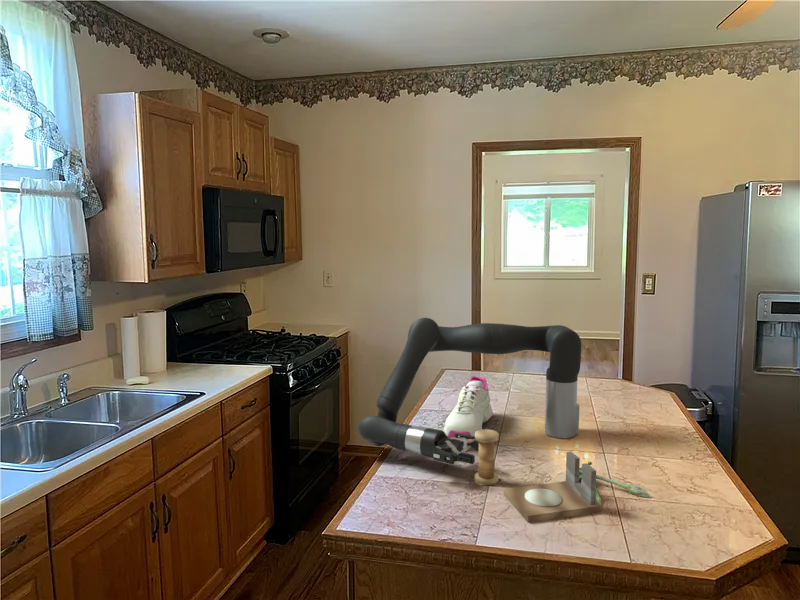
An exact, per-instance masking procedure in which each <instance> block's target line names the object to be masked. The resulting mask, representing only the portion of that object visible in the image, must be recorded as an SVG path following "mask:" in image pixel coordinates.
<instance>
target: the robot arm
mask: <svg viewBox="0 0 800 600" xmlns="http://www.w3.org/2000/svg"><path fill="white" fill-rule="evenodd" d="M409 327H410V328H409V329H408V333H407V340H406V343H405V346H404V348H403V351H402V352H401V354H400V357H399V359H398V361H397V363H396V365H395V367H394V368H393V370H392V372H391V373H390V375H389V376H388V379H387V380H386V382H385V384H384V386H383V388H382V390H381V392H380V394H379V396H378V398H377V400H376V402H375V405H376V408H377V410H378V413H377V416H376V415H368V416H365V417H363V418H362V419H361V421H360V422H359V423H358V427H357V428H358V429H357V431H358V434H359V435H360V437H361V438H362V439H364V440H365V441H366V442H368V443H370V444H372V445H373V446H376V447H382V446H384V445H388V446H390V447H392V448H394V449H395V450H396V449H397V450H400V451H405V452H409V453H412V454H415V455H418V456H422V457H426V458H431V459H432V460H434V461H436V462H440V463H445V464H448V465H455V463H460V462H461V463H465V464H470V465H473V464H475V462H476V458H475V457H476V456H475V455H474V454H470V453H466V452H467V451H468V450H475V451H478V452H479V441H477V440H476V439H475V436H470V435H464V434H458V433H456V434H455V437H451V438H448V437H447V436H446V434H445V432H444V430H441V429H436V428H430V427H428V426H427V427H426V426H420V425H412V424H406V423H400V422H397V419H398V414H399V411H400V409H401V407H402V406H403V404H404V402H405V399H406V397H407V396H408V393H409V391H410V389H411V387H412V384H413V381H414V379H415V377H416V375H417V372H418V371H419V368H420V366H421V364H422V363H423V361H424V360H425V357H427V355H428V353H432V352H448V351H454V352H463V353H473V354H475V353H476V354H487V355H507V354H513V353H518V352H522V351H539V352H547V353H549V366H548V368H547V369H546V373H545V406H544V407H545V408H544V433H545V434H546V435H548V436H550V437H552V438H557V439H570V438H573V437H575V436H578V435H579V432H580V431H579V430H580V404H579V403H578V376H579V373H580V370H581V362H582V361H581V360H582V340H581V337H580V336H579V334H578V333H577V332H576V331H575V330H573V329H571V328H570V327H567V326H565V325H561V324H560V325H558V324H557V325H556V324H555V325H542V326H539V325H538V326H525V325H517V324H507V323H489V322H483V323H474V324H473V323H472V324H467V325H462V326H441V325H440V326H439V325H438V324H437V322H436V321H435V320H434V319H432V318H430V317H421V318H418V319H417V320H414V322H413V323H412V324H411V325H410V326H409ZM447 458H448V459H447Z"/></svg>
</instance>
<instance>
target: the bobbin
mask: <svg viewBox="0 0 800 600" xmlns="http://www.w3.org/2000/svg"><path fill="white" fill-rule="evenodd" d="M475 439H476V441H479V451H478V471H477V472H475V473H474V482H475V481H476V482H475V484H476V483H477V484H478V485H480V484H481V486H485V485H490V486H495V485H497V484H498V483H499V474H498V473H497V472H495V466H496V465H495V460H496V459H495V458H496V457H495V456H496V455H495V454H496V453H495V452H496V449H495V448H496V443H497V442H499V439H500V433H499V432H498V431H497V430H494V429H487V428H486V429H483V428H482V430H478V431H476V432H475ZM494 484H495V485H494Z"/></svg>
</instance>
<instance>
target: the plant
mask: <svg viewBox="0 0 800 600" xmlns="http://www.w3.org/2000/svg"><path fill="white" fill-rule="evenodd" d="M587 464H588V465H590V466H592V464H593V462H592V461H588V462H587ZM581 480H582V466H581V467H579V481H581ZM596 480H600V481H604V482H607V483H610V484H612V485H615V486H618V487H619V488H622V489H625V490H626V491H627V492H629V493H630V494H632V495H633V496H636V497H641V498H647V497H648V499H649V498H652V496H651V494H649V492H648V491H647V490H646V489H644V488H643V487H641V486H638V485H635V484H627V483H624V482H621V481H618V480H614V479H610V478H609V477H604V476H601V475H597V474H596ZM595 501H596V502H598V503H599V504H600V505H601V506H602V499H601V497H600V495H599V492H598V489H597V488H596V494H595Z"/></svg>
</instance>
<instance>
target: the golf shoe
mask: <svg viewBox="0 0 800 600" xmlns="http://www.w3.org/2000/svg"><path fill="white" fill-rule="evenodd" d="M490 403H491V397H490V391H489V385H488V383H487V379H486V377H484V376H474V375H472V376H470V378H469V381H468V383H467V384H466V385H463V386H462V388H461V390H460V391H459V394H458V399H457V404H456V405H455V407H454V408H453V409H452V411H451V412H450V413H449V415H448V417H447V418H446V420H445V423H444V428H443V431H444V432H445V434H446V436H447V437H448V438H451V437H455V434H456V433H458V434H464V435H470V436H475V432H476V431H478V430H483V424H484V423H487V421H489V420H490V419H491V418H492V416H493V414H494V412H493V409H492V405H491V404H490Z"/></svg>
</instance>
